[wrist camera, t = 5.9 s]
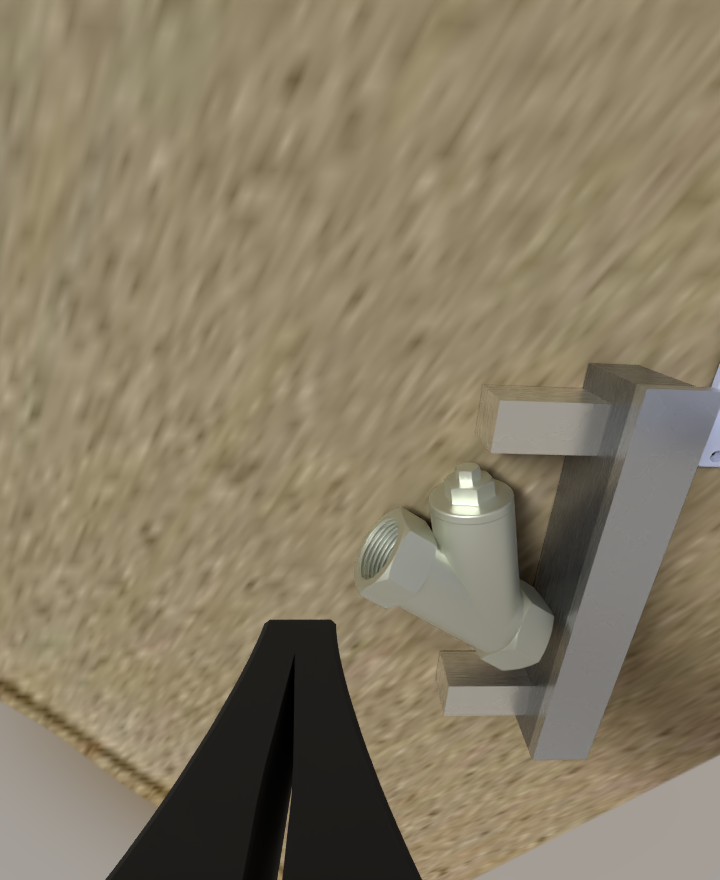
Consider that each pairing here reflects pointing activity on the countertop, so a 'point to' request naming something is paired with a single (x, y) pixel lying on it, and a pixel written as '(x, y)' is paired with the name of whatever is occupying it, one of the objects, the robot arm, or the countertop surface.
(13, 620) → the countertop surface
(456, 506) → the pipe fitting
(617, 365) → the grey bracket
